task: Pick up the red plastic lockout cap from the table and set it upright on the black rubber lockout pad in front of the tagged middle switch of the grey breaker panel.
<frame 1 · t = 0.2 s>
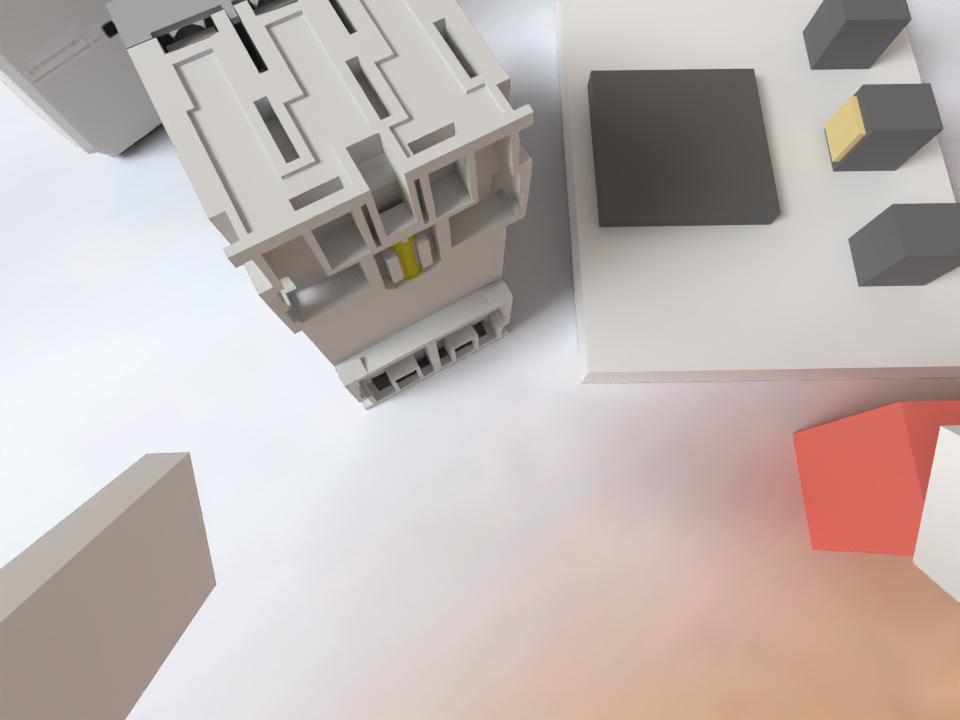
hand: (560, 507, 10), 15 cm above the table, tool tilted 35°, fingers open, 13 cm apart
lockout cap: (858, 488, 25), on the table
circuit breaker: (371, 252, 29), on the table
breaker panel: (739, 175, 30), on the table
stereo radio cassette player: (222, 33, 33), on the table
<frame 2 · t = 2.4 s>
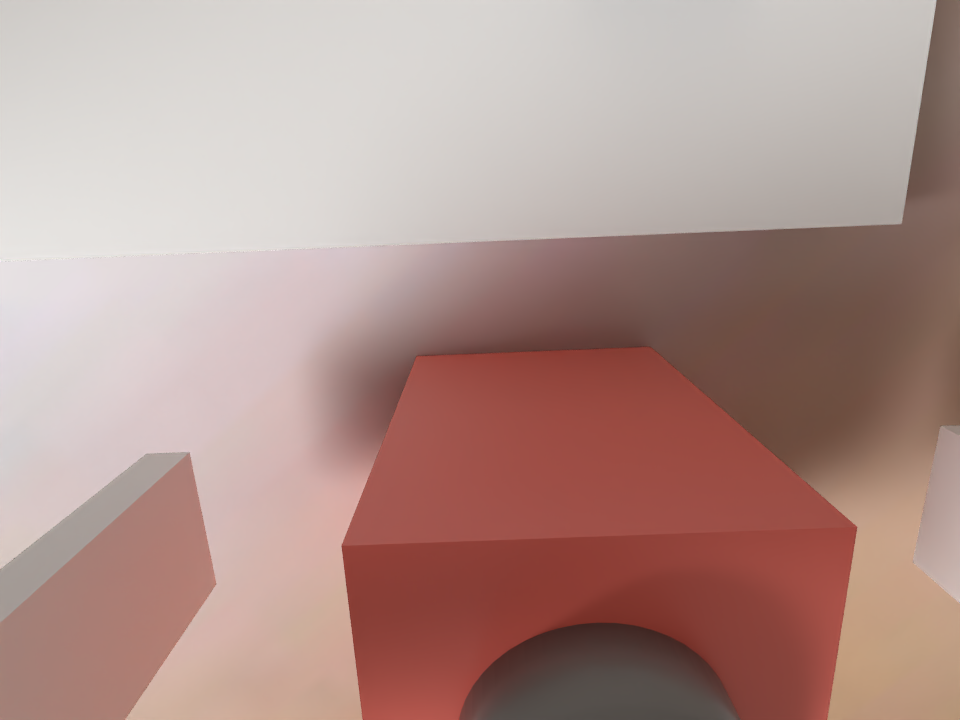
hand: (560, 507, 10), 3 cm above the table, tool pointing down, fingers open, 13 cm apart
lockout cap: (534, 457, 13), on the table
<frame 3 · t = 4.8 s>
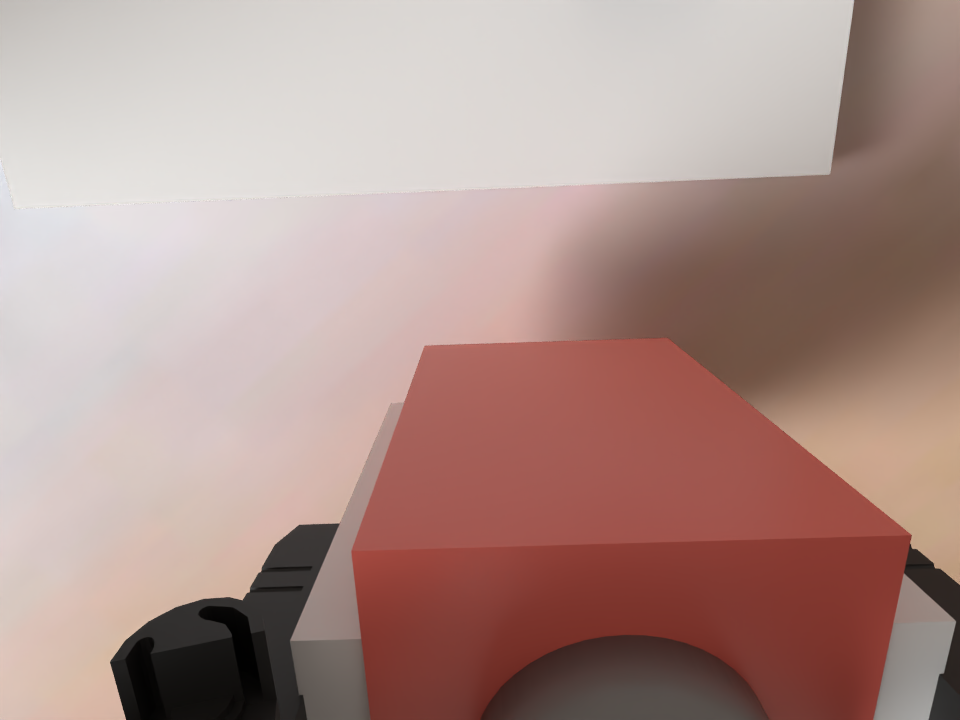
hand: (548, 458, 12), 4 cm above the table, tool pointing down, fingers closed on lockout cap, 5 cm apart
lockout cap: (546, 452, 13), point 4 cm above the table, touching gripper
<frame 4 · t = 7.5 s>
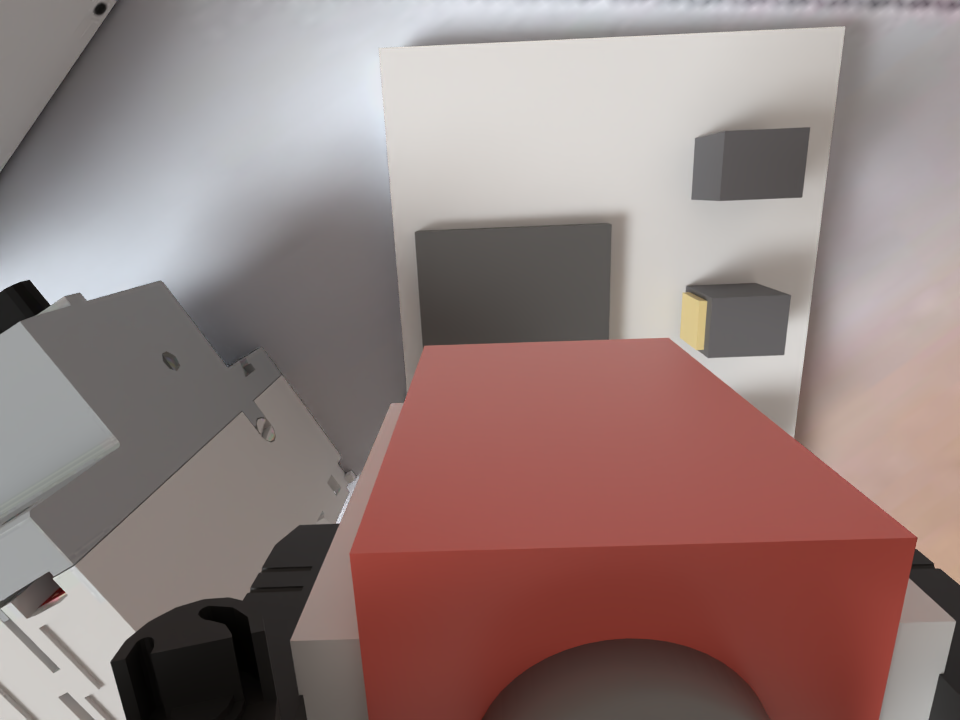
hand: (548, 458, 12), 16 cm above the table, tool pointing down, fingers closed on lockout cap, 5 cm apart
lockout cap: (546, 452, 12), point 15 cm above the table, touching gripper
circuit breaker: (215, 399, 29), on the table
breaker panel: (596, 306, 27), on the table
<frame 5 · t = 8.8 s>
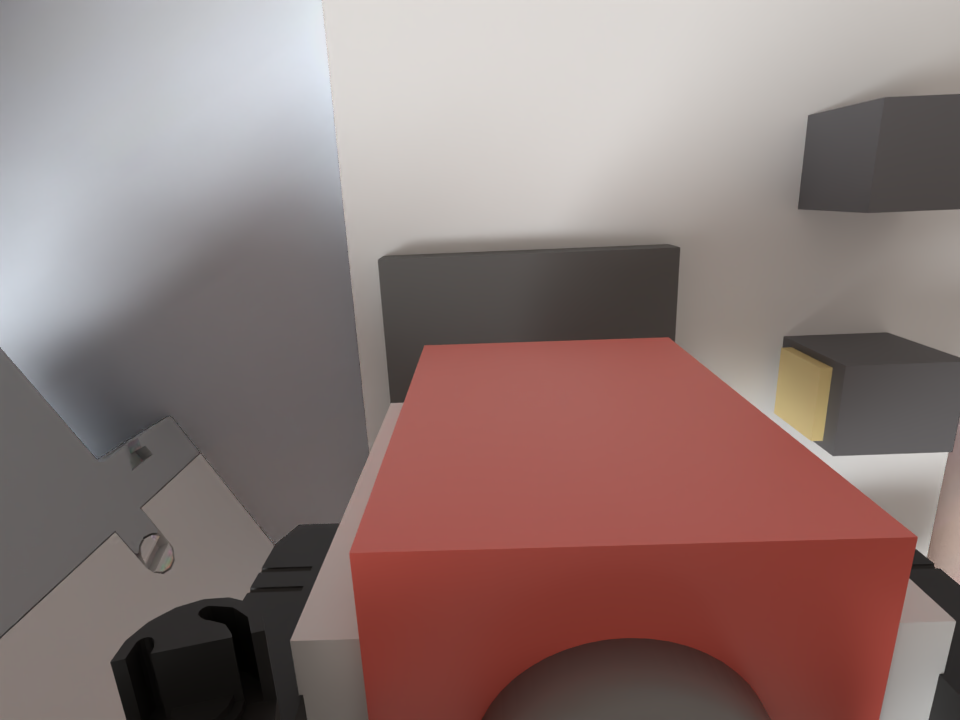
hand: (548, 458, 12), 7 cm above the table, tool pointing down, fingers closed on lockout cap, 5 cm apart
lockout cap: (546, 452, 12), point 7 cm above the table, touching gripper
circuit breaker: (110, 484, 21), on the table
breaker panel: (643, 360, 19), on the table
when the fingers open (4 cm above the table, at t = 10.2 s): lockout cap stays where it is, resting on breaker panel.
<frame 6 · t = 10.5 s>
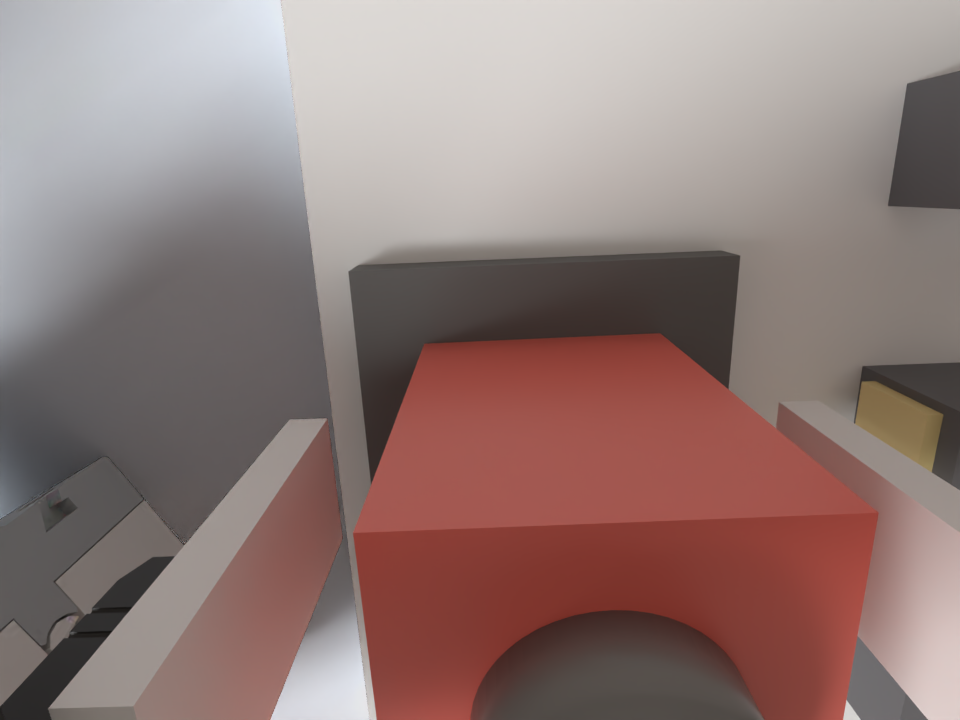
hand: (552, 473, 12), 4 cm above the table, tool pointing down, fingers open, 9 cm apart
lockout cap: (543, 446, 13), point 3 cm above the table, touching breaker panel
circuit breaker: (38, 535, 17), on the table
breaker panel: (680, 390, 16), on the table
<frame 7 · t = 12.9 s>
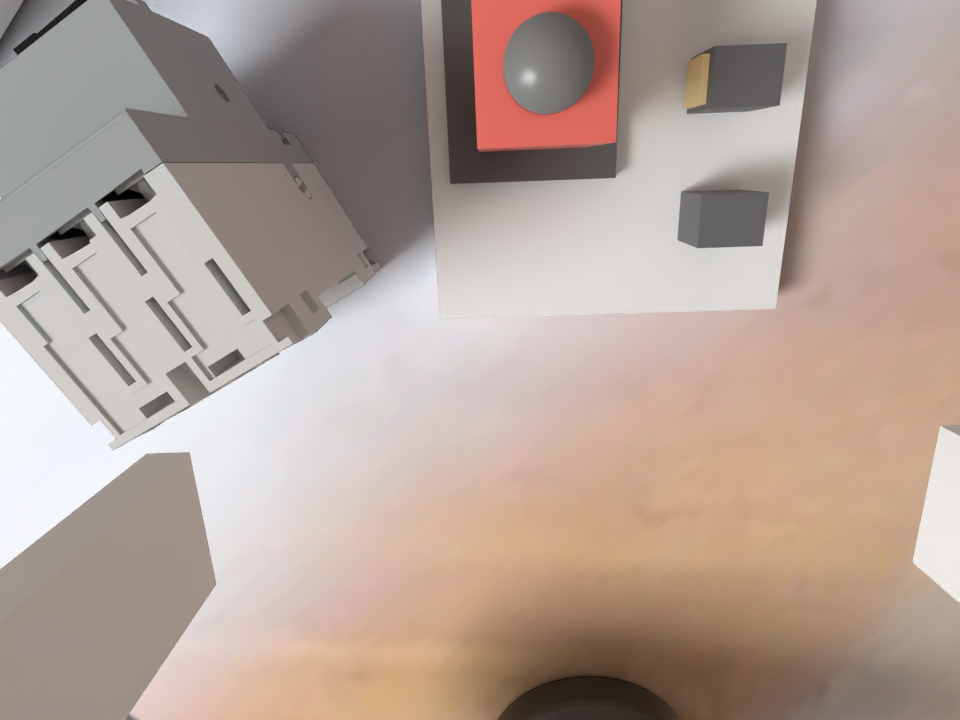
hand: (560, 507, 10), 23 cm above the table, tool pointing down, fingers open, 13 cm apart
lockout cap: (531, 92, 27), point 3 cm above the table, touching breaker panel
circuit breaker: (251, 189, 31), on the table
breaker panel: (606, 94, 29), on the table
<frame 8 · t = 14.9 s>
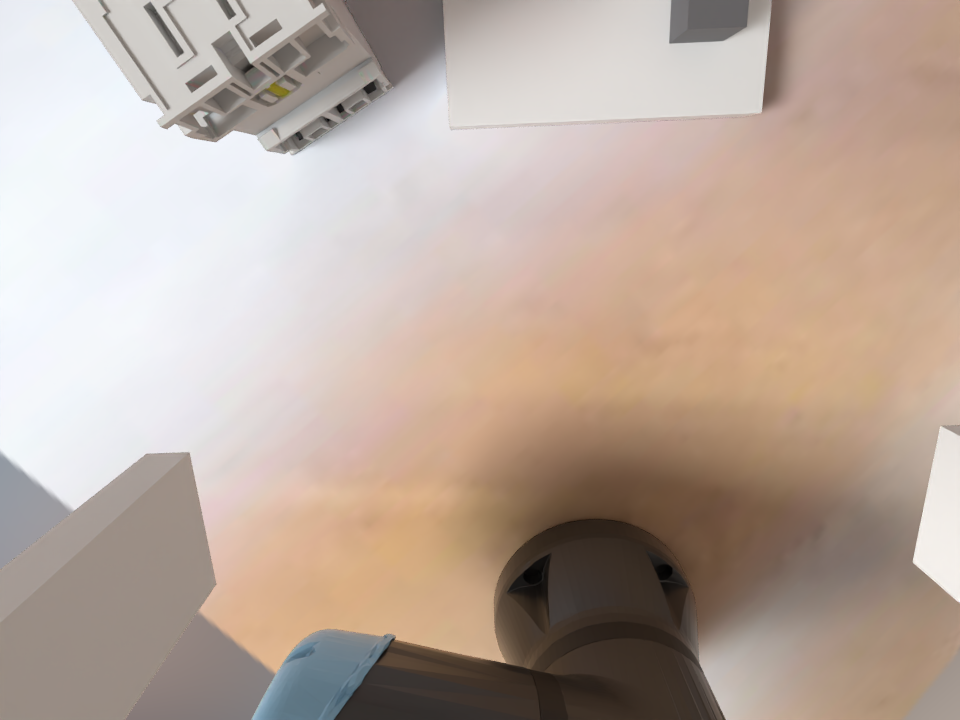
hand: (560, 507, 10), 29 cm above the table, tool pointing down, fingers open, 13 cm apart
circuit breaker: (274, 9, 34), on the table
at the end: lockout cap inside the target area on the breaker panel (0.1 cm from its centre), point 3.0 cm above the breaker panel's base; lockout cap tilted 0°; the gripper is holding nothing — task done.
